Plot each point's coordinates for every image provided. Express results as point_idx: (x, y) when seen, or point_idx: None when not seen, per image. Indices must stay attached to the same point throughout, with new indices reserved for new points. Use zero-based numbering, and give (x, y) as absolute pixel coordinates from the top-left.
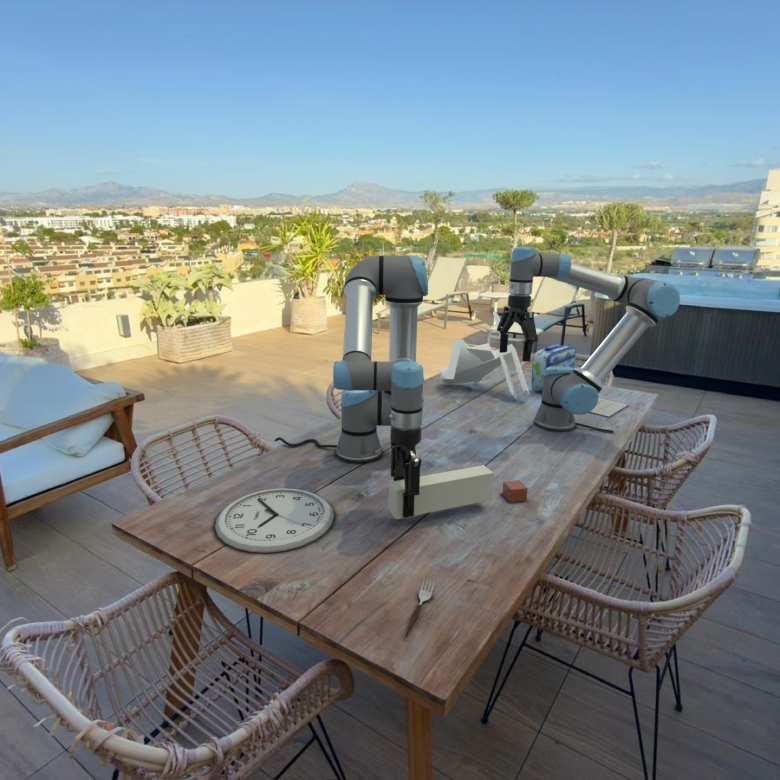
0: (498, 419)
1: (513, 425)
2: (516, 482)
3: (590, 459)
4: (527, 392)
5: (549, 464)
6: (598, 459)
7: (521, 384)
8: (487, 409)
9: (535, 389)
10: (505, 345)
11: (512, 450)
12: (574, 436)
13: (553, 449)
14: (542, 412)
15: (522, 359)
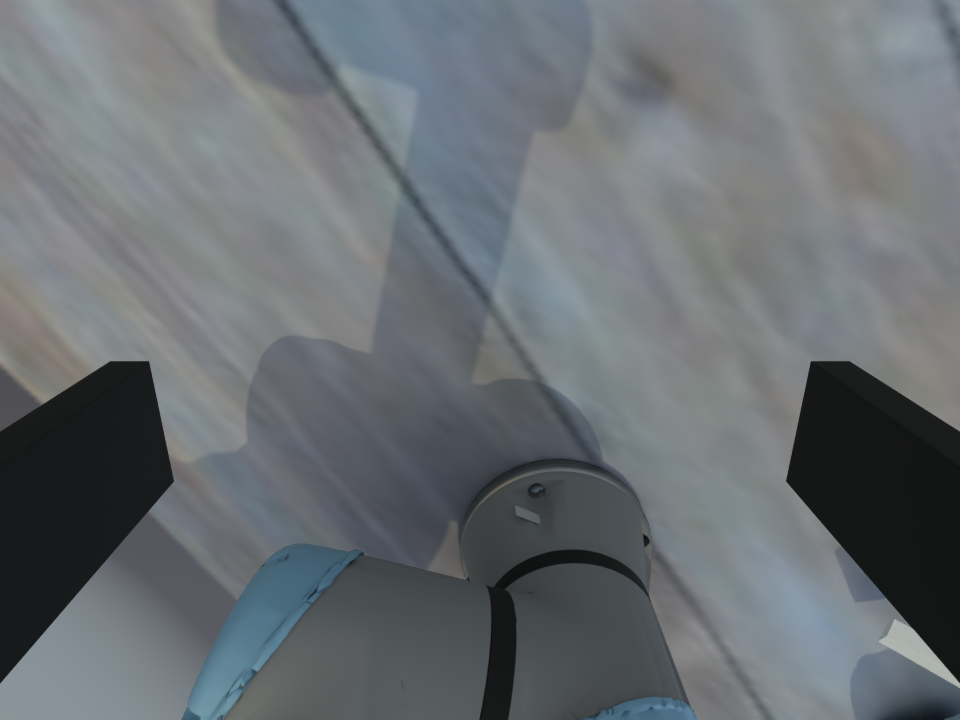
0: (732, 333)
1: (623, 356)
2: None
3: None
4: (883, 636)
5: (137, 225)
6: None
7: None
8: (889, 363)
9: (948, 718)
10: (866, 518)
11: (332, 148)
12: (397, 527)
13: (291, 352)
14: (566, 513)
15: (129, 372)
